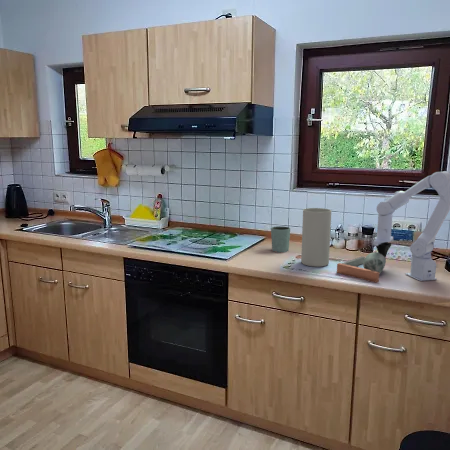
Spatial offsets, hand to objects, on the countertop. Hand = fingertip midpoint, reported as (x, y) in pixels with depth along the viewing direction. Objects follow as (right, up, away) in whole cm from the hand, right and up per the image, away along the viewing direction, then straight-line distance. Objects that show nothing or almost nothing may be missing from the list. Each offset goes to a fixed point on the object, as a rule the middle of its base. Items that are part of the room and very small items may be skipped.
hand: (382, 259), depth 185 cm
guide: (-7, -5, -4) cm, 10 cm away
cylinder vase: (-28, -3, +9) cm, 29 cm away
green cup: (-41, +2, +33) cm, 53 cm away
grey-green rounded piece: (-5, -5, -4) cm, 9 cm away
